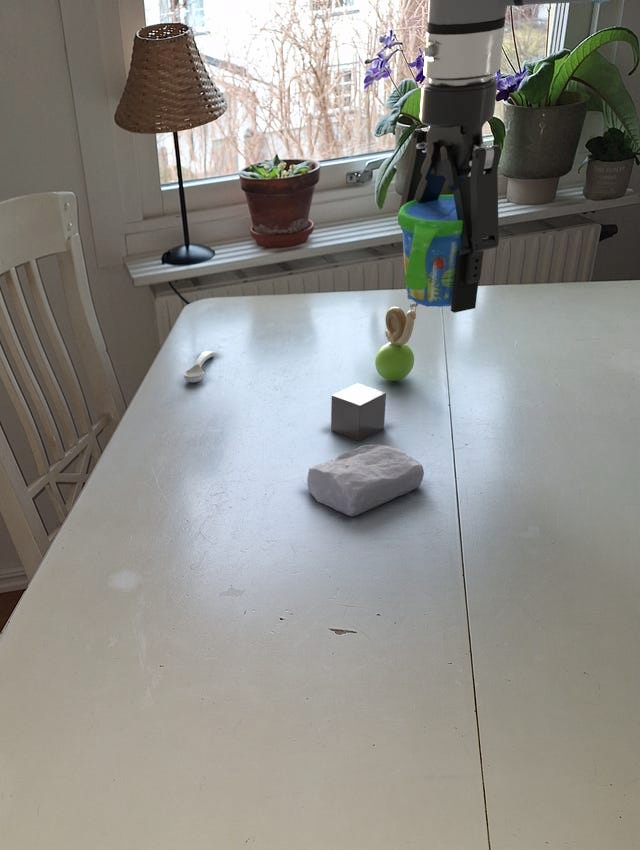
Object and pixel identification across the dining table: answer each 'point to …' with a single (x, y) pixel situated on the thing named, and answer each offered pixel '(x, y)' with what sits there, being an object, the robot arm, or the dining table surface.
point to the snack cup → (430, 249)
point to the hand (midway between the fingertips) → (438, 296)
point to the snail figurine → (397, 345)
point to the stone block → (364, 478)
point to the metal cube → (358, 411)
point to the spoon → (197, 367)
